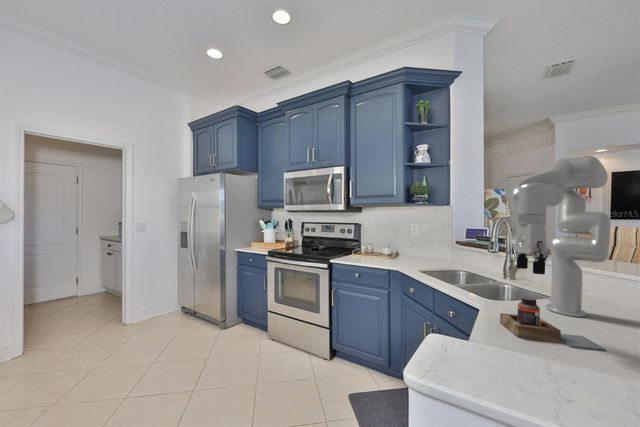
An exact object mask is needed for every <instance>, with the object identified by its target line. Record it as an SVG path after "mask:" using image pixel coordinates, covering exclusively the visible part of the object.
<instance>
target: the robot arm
mask: <svg viewBox="0 0 640 427" xmlns="http://www.w3.org/2000/svg"><path fill="white" fill-rule="evenodd" d="M608 176H609V175H608V172H607V170H606V168H605V166H604V165H603V163H602V162H601V161H600V159H598V158H597V157H595V156H592V155H582V156H581V155H580V156H576V157H575V156H573V157H564V158H560V159H557V160H554V161H553V162H552V163H551V164H550V165H549V166H548V167H547V169H545V171H544V172H541V173H538V174H536V175H533V176H531V177H527V178H526V179H524V180H522V181H520V182H519V183H518V184H517V185H516V186H515V187H514V189H513V191H512V192H511V193H512V194H511V201H512V203H513V204H514V205H515V206H517V207H518V208H517V209H518V211H517V212H518V213H517V228H516V232H515V241H514V250H515V252H516V254H515V255H516V268H517V269H524V270H527V269H528V264H529V257H527V256H528V255H532V257H533V260H532V273H533V274H534V275H545V274H546V262H547V259H548V258H549V256H548V255H549V252H550V258H551V286H550V287H551V288H550V289H551V290H550V291H551V292H550V297H548V299H547V300H548V301H550V304H549V303H548V304H546V305H545V308H546V309H547V310H549V311H550V312H553V313H556V314H560V315H564V316H568V317H574V318H575V317H577V318H585V317H587V312H586V311H585V310H583V309H582V301H583V298H582V297H583V295H582V294H583V270H582V267H580V265H578V263H577V262H576V261H582V262H591V263H604V262H605V261H606V260H607V259H608V257H609V252H610V251H609V250H610V238H611V237H610V236H611V218H610V216H609V215H608V214H607V213H605V212H603V211H590V210H589V211H588V210H587V211H586V208H587V206H586V205H587V200H586V198H585V197H584V196H583V195H582V194H581V192H578V191H577V190H583V189H584V190H585V189H598V188H602V187H604V186H606V184H607V182H608V179H609V178H608ZM576 189H577V190H576ZM555 206H558V211H557V220H556V224H557V225H556V227H557V230H558V231H559V232H560V233H563V234H571V235H572V234H573V235H588V236H592V237H588V236H587V237H586V236H585V237H583V236H570V235H568V236H567V235H559V236H558V235H557V236H554V237H553V238H551V240H550V242H549V247H547V232H546V231H547V230H546V226H547V207H548V208H549V207H550V208H551V207H555Z"/></svg>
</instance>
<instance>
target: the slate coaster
mask: <svg viewBox="0 0 640 427" xmlns="http://www.w3.org/2000/svg"><path fill="white" fill-rule="evenodd" d="M560 342H562V344H564V345H566V346H567V347H569V348H575V349H585V350H591V351H600V352H601V351H602V352H606V351H607V349H606V348H604V347H603V346H602V345H599V344H598V343H596V342H594V341H593V340H590V339H589V338H587V337H585V336H584V335H578V334H577V335H575V334H568V333H561V339H560Z"/></svg>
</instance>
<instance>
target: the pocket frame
mask: <svg viewBox="0 0 640 427" xmlns="http://www.w3.org/2000/svg"><path fill="white" fill-rule="evenodd" d="M499 315H500V317H499V323H500V324H501V325H502V326H503V327H504V328H506V329H507V330H508V331H509V332H510V333H511V334H513V335H514V336H516V338H522V339H532V340H540V341H541V340H542V341H547V342H548V341H550V342H559V343H560V342H561V341H560V339H561V334H562V330H561V329H559V328H557V327H555V326H554V325H552V324H550V323H549V322H548V321H545V320H544V319H542V318H540V320H539V326H529V325H521V324H519V323H518V322H517V314H512V313H511V314H510V313H503V312H502V313H501V312H500V314H499Z"/></svg>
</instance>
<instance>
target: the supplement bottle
mask: <svg viewBox="0 0 640 427" xmlns="http://www.w3.org/2000/svg"><path fill="white" fill-rule="evenodd" d="M520 300H521V301H520V302H518V303H517V314H516V315H517V322H518V323H519V324H521V325H529V326H539V320H540V317H541V316H540V314H541V308H540V307H539V305H537V299H536V298H534V297H531V296H521V298H520Z"/></svg>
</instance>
